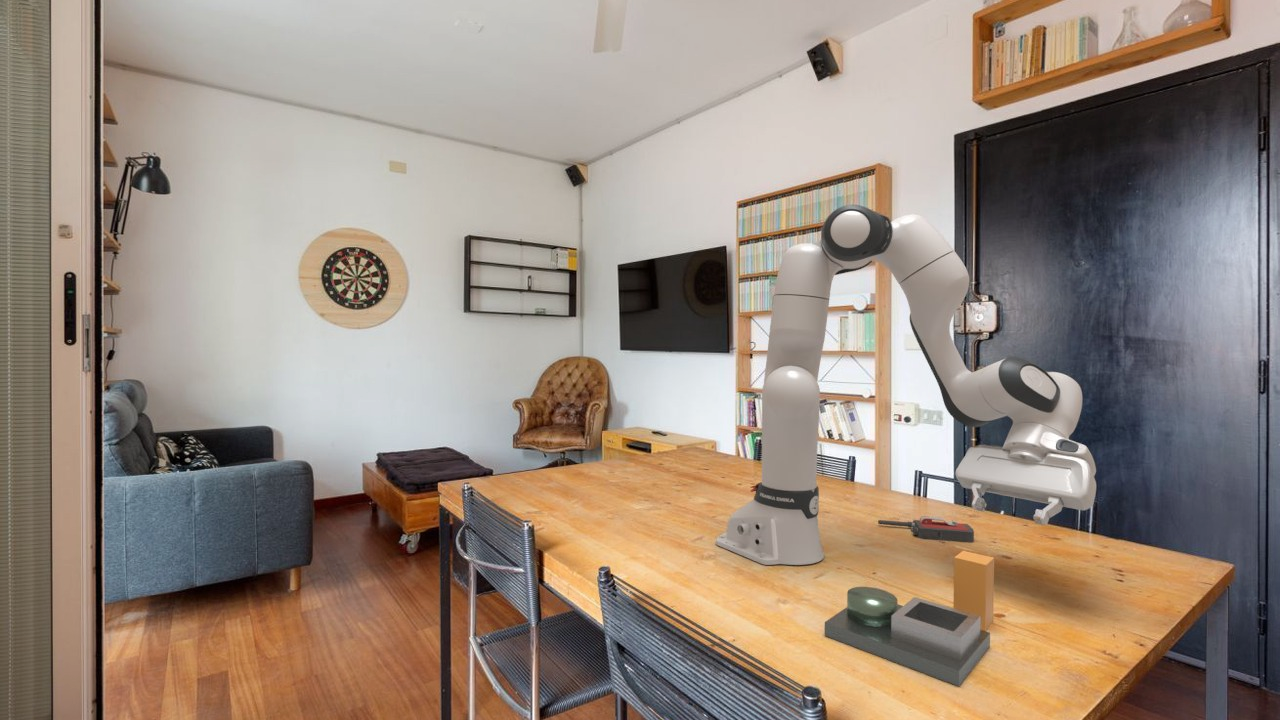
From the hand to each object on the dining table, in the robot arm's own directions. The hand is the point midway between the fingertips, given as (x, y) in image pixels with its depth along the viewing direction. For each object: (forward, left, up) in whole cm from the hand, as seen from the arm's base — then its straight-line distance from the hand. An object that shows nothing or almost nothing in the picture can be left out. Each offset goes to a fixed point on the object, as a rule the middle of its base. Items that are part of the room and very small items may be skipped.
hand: (1007, 515), depth 96 cm
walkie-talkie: (-23, +30, -15) cm, 41 cm away
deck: (-7, -25, -15) cm, 30 cm away
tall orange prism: (-2, -11, -15) cm, 18 cm away
